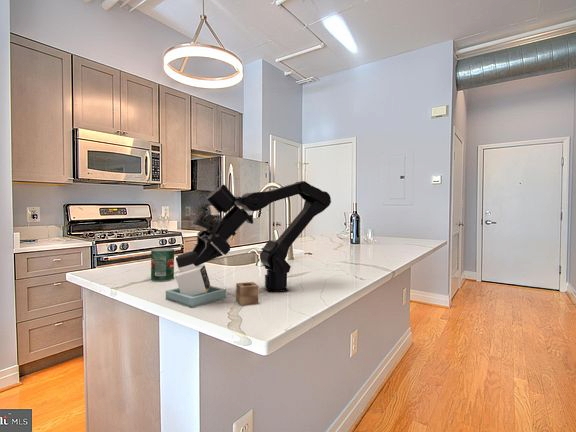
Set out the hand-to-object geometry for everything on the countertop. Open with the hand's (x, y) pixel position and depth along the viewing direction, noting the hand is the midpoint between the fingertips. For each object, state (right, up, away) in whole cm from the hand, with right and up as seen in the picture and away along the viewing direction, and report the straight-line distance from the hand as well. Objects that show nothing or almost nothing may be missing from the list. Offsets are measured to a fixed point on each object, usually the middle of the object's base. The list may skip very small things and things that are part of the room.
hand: (191, 262), depth 89 cm
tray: (+1, -11, +1) cm, 11 cm away
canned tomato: (-18, -10, +24) cm, 32 cm away
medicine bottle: (+1, -9, +1) cm, 9 cm away
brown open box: (+16, -11, -1) cm, 20 cm away
